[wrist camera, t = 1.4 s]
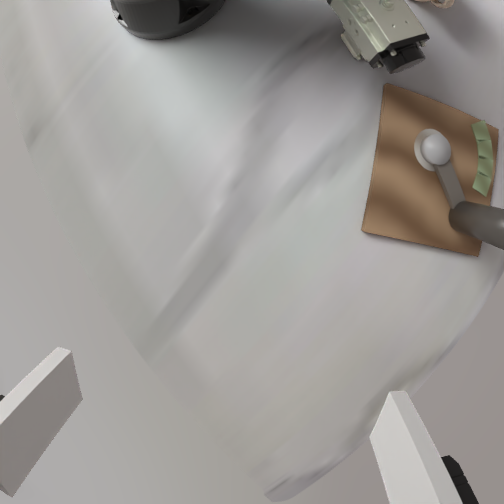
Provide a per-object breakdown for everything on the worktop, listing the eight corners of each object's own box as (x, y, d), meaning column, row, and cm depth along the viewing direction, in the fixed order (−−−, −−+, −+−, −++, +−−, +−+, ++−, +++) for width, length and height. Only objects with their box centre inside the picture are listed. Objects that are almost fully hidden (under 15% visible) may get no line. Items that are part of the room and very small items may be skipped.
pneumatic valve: (348, 4, 28) (373, -47, 17) (397, 78, 31) (443, 47, 19) (311, 16, 29) (325, -38, 18) (361, 92, 32) (399, 61, 20)
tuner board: (383, 83, 31) (387, 80, 30) (493, 128, 31) (499, 127, 29) (361, 229, 36) (364, 232, 34) (473, 254, 35) (478, 257, 34)
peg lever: (414, 142, 31) (473, 133, 19) (437, 130, 31) (499, 118, 19) (453, 236, 34) (513, 263, 22) (474, 222, 33) (535, 242, 21)
